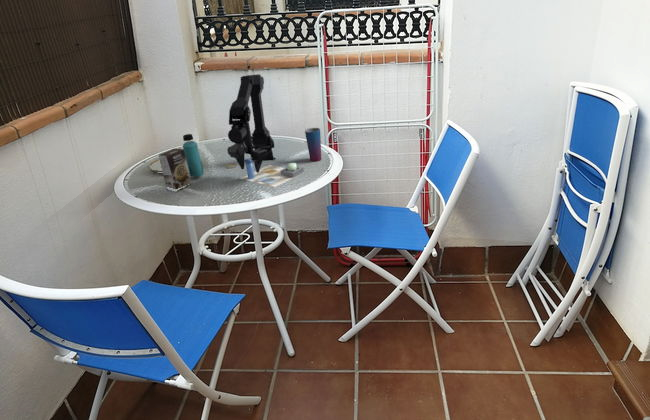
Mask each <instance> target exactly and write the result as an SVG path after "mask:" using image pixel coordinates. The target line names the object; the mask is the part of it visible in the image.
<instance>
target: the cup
mask: <svg viewBox="0 0 650 420" xmlns="http://www.w3.org/2000/svg"><path fill="white" fill-rule="evenodd" d="M304 134H305V139H306V144H307V151H308V155H309V160H310V162H311V163H317V162H320V161H322V142H321V141H322V140H321V128H319V127H310V128H307V129H305V130H304Z"/></svg>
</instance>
